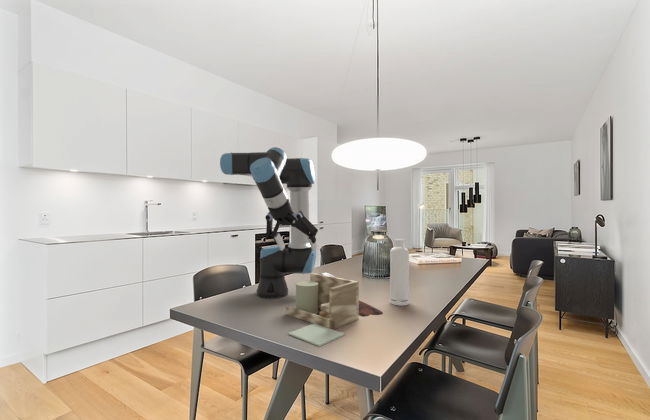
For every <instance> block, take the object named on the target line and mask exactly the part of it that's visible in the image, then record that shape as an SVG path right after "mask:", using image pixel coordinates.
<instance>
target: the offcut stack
mask: <svg viewBox="0 0 650 420" xmlns="http://www.w3.org/2000/svg"><path fill="white" fill-rule="evenodd" d="M329 303H330V302H329ZM329 303H325V304H322V305H321V309H320V311H319V316H322V317H326V318H329Z"/></svg>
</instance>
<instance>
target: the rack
mask: <svg viewBox="0 0 650 420" xmlns="http://www.w3.org/2000/svg"><path fill="white" fill-rule="evenodd" d="M309 274H310V277H309V278H310V279H309V281H315V282H318V310H321V305H322V304H325V303H329V302H330V303H329V318H326V317H322V316H320V314H313V313H309V312H306V311H303V310H299V309H296V307H293V306H290V305H287V306H286V307H285V314H286V315H288V316H290V317H293V318H295V319H296V318H297V319H298V320H299V319H300V320H302V321H305V322H309V323H311V324H317V325H320V326H323V327H326V328H329V329H332V330H335V329H338V328H340V327H343V326H345V325H347V324H350V323H351V322H354V321H357V320H359V301H360V299H359V298H360V296H359V295H360V293H359V292H360V289H359V288H360V287H359V286H360V285H359V284H360V283H359V282H360V281H356V280H354V279H353V280H351V279H346V278H342V277H336V276H335V277H332V276H326V275H321V274H320V273H314V272H312V273H309Z"/></svg>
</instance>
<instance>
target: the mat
mask: <svg viewBox="0 0 650 420" xmlns="http://www.w3.org/2000/svg"><path fill="white" fill-rule="evenodd" d="M288 335H289V336H291V337H293V338H294V337H295V338H297V339H299V340H302V341H305V342H306V343H309V344H312V345H315V346H317V347H322V346H324V345H327V344H328V343H332V342H333V341H336V340H337V339H339V338H342V337H344V336H345V333H344V332H341V331H338V330H335V329H333V330H332V329H329V328H326V327H323V326H320V325H317V324H314V323H311V324H309V325H306V326H303V327H300V328H299V329H296V330H295V329H294V330H293V331H290V332H288Z"/></svg>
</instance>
